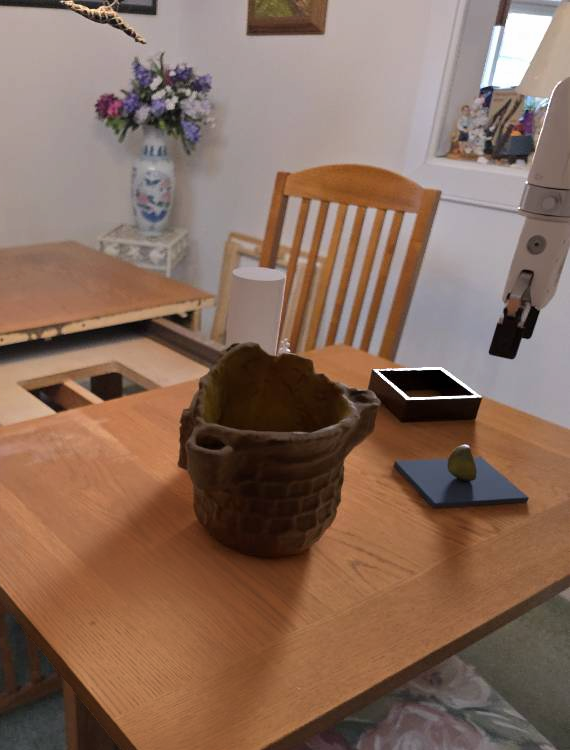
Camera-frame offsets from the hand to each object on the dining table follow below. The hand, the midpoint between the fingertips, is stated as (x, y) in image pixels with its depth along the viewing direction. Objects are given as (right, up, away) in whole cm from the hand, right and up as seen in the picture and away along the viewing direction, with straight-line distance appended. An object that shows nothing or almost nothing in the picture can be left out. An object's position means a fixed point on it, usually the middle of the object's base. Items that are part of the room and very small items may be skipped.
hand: (510, 346), depth 92 cm
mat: (-3, -17, +8) cm, 19 cm away
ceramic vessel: (-34, -25, -5) cm, 43 cm away
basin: (-1, -2, +31) cm, 31 cm away
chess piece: (-25, 0, +32) cm, 41 cm away
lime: (-3, -17, +8) cm, 19 cm away
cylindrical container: (-34, -11, +15) cm, 39 cm away
